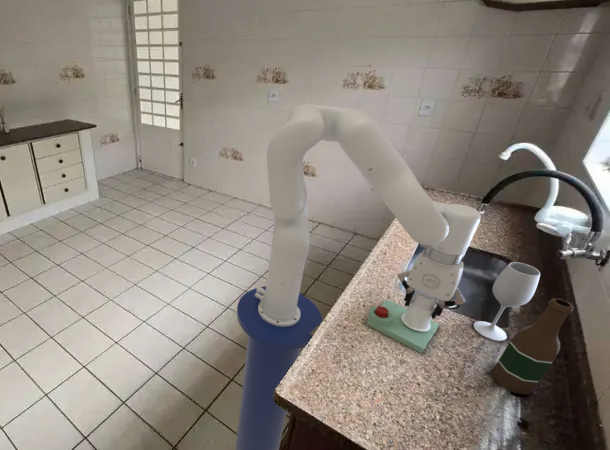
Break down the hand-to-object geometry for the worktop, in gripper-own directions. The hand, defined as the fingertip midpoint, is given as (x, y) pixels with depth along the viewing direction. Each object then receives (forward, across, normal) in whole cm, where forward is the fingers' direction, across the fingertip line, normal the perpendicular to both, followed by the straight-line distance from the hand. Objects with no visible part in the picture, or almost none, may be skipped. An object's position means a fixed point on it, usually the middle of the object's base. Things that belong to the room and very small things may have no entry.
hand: (420, 309), depth 94 cm
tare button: (+4, -8, -5) cm, 10 cm away
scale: (+7, -2, -2) cm, 8 cm away
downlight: (+5, 0, 0) cm, 5 cm away
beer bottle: (+7, +22, -2) cm, 23 cm away
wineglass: (+7, +14, +14) cm, 22 cm away
